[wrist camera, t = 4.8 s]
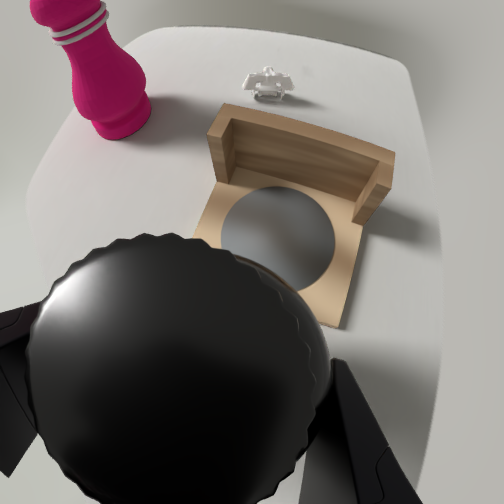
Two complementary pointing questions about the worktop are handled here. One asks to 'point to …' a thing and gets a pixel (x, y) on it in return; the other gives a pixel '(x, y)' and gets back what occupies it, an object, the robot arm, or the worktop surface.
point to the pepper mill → (97, 66)
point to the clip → (268, 82)
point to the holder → (293, 200)
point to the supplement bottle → (175, 374)
